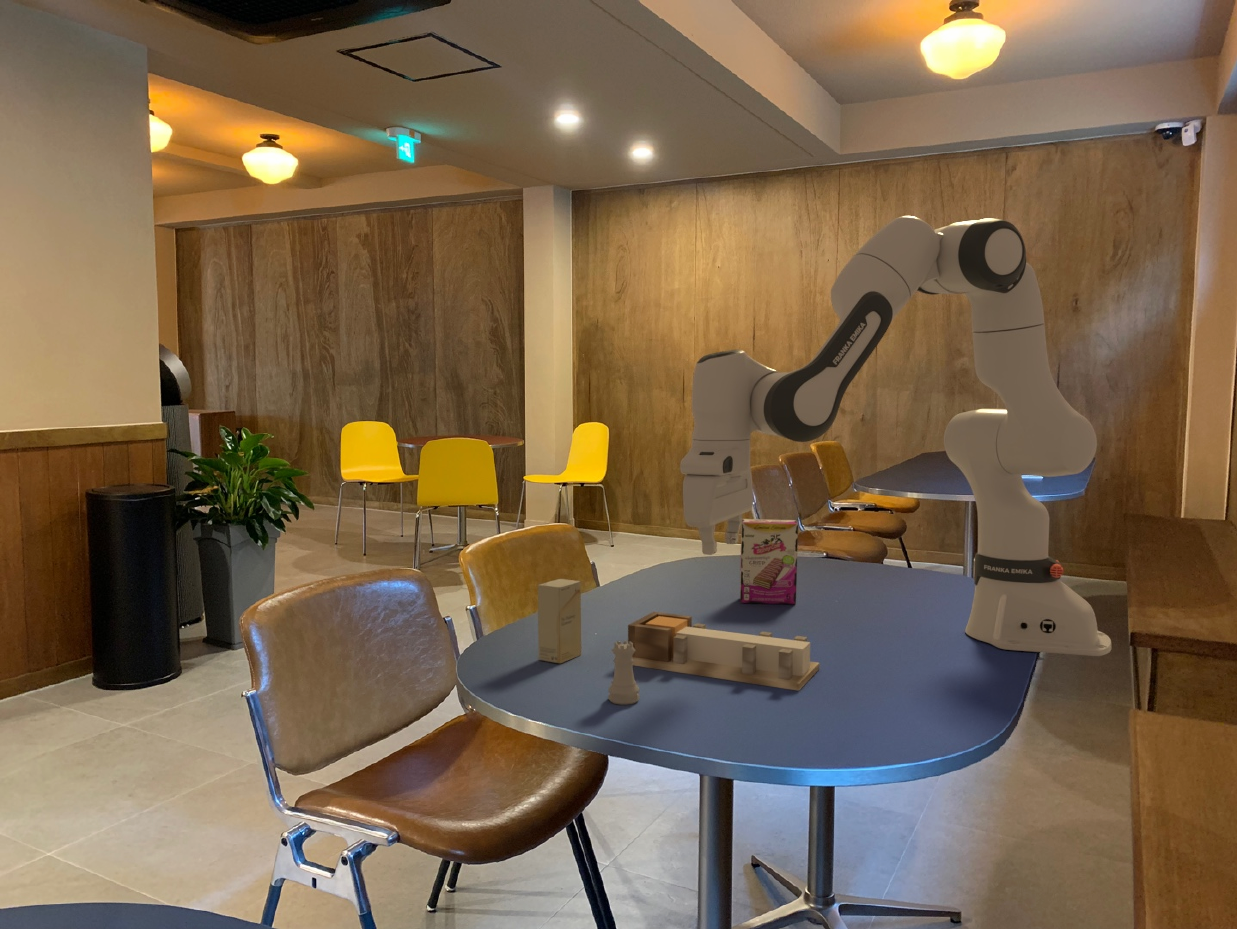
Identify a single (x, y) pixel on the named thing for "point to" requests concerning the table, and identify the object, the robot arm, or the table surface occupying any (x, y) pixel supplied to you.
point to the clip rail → (657, 655)
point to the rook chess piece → (623, 676)
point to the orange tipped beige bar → (734, 646)
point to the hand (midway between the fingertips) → (721, 548)
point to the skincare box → (559, 620)
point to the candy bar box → (768, 561)
